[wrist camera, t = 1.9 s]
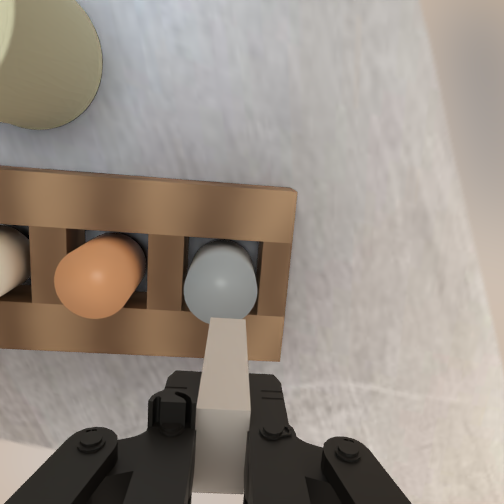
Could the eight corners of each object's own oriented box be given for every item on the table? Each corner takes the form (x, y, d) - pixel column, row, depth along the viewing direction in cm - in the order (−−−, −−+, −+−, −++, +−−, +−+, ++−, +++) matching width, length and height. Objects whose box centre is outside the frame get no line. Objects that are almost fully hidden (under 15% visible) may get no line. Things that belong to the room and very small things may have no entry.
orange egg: (82, 291, 29) (55, 316, 24) (81, 230, 28) (53, 244, 24) (145, 295, 29) (130, 320, 25) (146, 234, 28) (131, 249, 24)
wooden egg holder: (-42, 323, 31) (-76, 344, 28) (-56, 161, 28) (-96, 162, 25) (274, 340, 33) (279, 361, 29) (289, 187, 30) (297, 192, 27)
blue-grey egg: (189, 298, 29) (182, 323, 25) (192, 237, 28) (185, 253, 24) (250, 301, 30) (254, 327, 25) (255, 242, 29) (260, 258, 24)
